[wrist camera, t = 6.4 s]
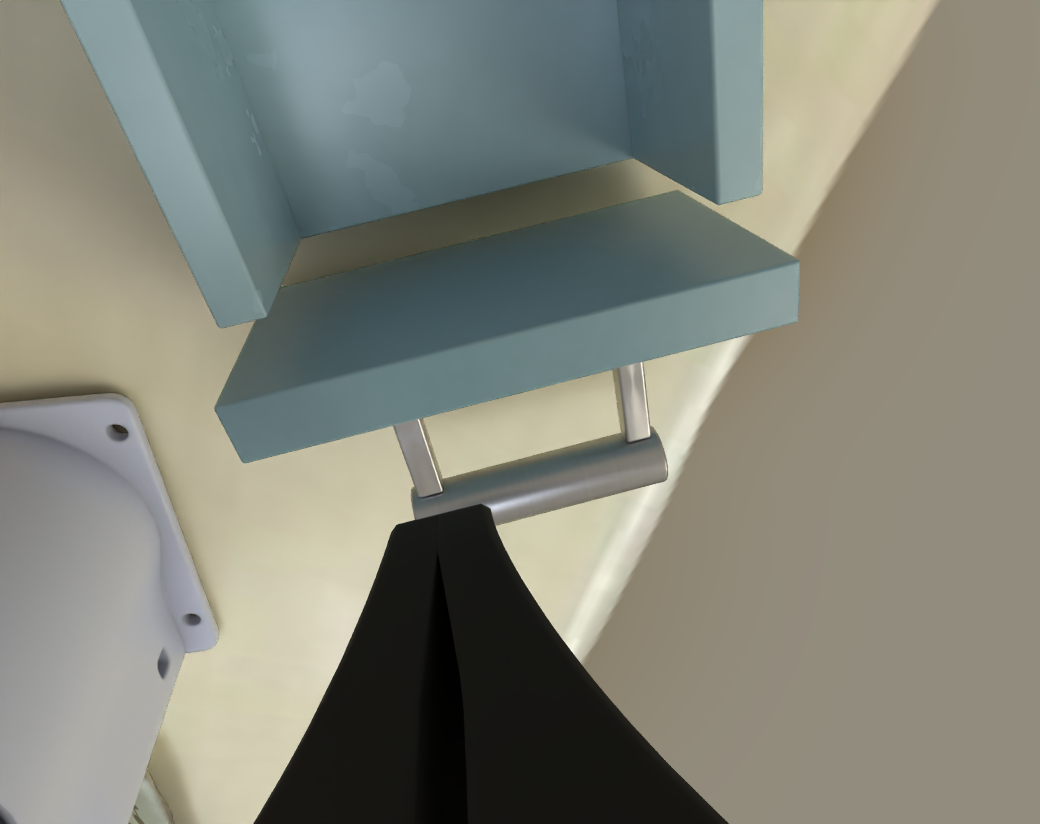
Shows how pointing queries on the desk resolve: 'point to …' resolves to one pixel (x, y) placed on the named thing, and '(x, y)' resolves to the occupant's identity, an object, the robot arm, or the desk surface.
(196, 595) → the robot arm
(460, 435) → the desk surface
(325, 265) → the desk surface
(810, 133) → the desk surface
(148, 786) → the avocado toast plate
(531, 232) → the drawer
